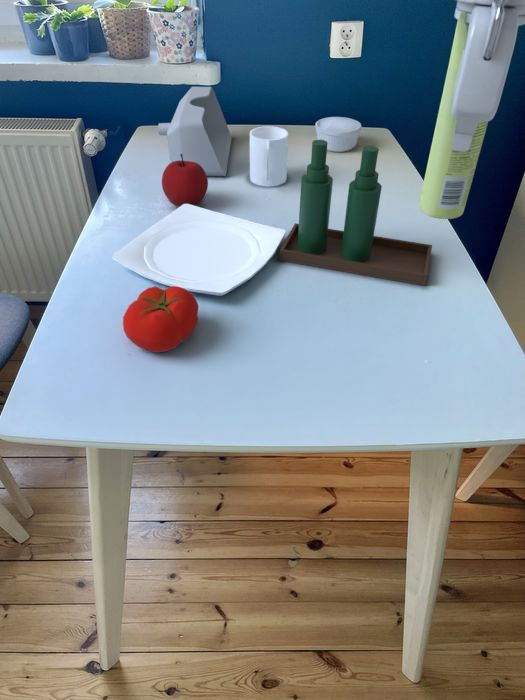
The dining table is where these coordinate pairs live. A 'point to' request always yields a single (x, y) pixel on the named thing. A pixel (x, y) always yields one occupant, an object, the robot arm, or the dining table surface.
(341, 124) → the ramekin
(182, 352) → the dining table surface
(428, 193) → the tube
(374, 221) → the bottle
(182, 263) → the plate
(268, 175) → the cup
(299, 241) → the bottle
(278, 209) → the dining table surface
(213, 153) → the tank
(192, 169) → the apple
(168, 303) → the tomato
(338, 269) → the tray
